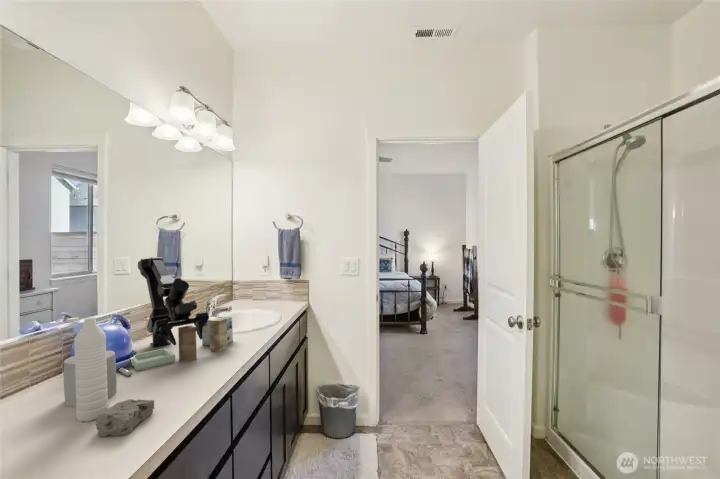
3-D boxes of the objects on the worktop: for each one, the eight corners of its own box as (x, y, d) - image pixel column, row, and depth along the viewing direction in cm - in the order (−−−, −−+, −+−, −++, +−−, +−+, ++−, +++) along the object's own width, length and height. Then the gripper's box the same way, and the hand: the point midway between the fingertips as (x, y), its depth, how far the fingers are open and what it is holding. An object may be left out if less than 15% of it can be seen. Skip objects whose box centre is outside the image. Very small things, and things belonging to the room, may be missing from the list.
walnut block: (179, 360, 133) (178, 327, 133) (191, 356, 136) (190, 324, 136) (183, 363, 130) (183, 329, 129) (196, 359, 133) (195, 326, 133)
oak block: (210, 350, 143) (209, 320, 143) (218, 347, 147) (217, 317, 147) (219, 351, 142) (219, 321, 142) (227, 348, 146) (226, 318, 146)
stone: (159, 407, 95) (117, 413, 93) (156, 387, 95) (114, 392, 93) (139, 440, 82) (90, 448, 81) (135, 416, 82) (86, 424, 80)
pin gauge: (117, 371, 122) (117, 367, 122) (122, 370, 123) (122, 366, 123) (127, 377, 117) (127, 372, 117) (132, 375, 118) (132, 371, 118)
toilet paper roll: (125, 393, 105) (124, 353, 105) (77, 411, 95) (76, 367, 95) (103, 385, 111) (101, 348, 111) (55, 401, 100) (54, 360, 100)
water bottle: (114, 409, 95) (111, 314, 95) (96, 422, 89) (92, 320, 88) (81, 409, 95) (78, 315, 95) (60, 422, 89) (57, 321, 88)
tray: (129, 362, 131) (129, 355, 131) (165, 354, 140) (165, 347, 140) (137, 370, 123) (136, 363, 123) (175, 361, 131) (175, 355, 131)
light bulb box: (233, 340, 156) (232, 316, 156) (226, 345, 149) (225, 319, 149) (209, 340, 157) (209, 316, 157) (201, 345, 150) (200, 319, 150)
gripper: (154, 298, 129) (166, 334, 121) (206, 291, 142) (220, 323, 135) (147, 317, 134) (159, 353, 127) (198, 309, 148) (211, 340, 140)
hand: (188, 341), depth 132 cm, fingers open, 9 cm apart
